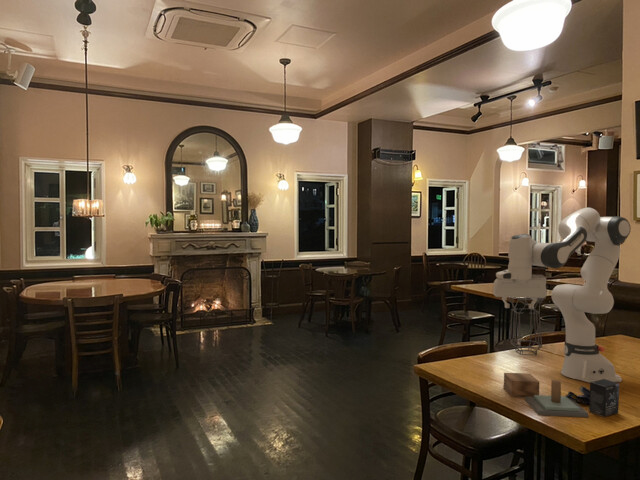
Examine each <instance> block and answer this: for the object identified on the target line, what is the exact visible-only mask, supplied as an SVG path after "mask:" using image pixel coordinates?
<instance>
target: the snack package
mask: <svg viewBox="0 0 640 480" xmlns="http://www.w3.org/2000/svg"><path fill="white" fill-rule="evenodd" d="M579 391H580V392H581V394H580V395H577V394H576V393H574V392H572V391H568V393H567V394H565V396H566V397H567V398H571V399H573V400H574V401H575V402H576V403H577V402H578V403H581V404H589V401H590V388H587V387H585V386H583V385H581V386H580V387H579Z"/></svg>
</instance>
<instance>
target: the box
mask: <svg viewBox="0 0 640 480" xmlns="http://www.w3.org/2000/svg"><path fill="white" fill-rule="evenodd" d="M589 390H590V401H589V405H588V406H589V410H588V411H589V412H591V413H592V414H595V415H598V416H601V417H604V418H605V417H609V416H612V415H615V414H619V408H620V407H619V405H620V403H619V402H620V401H619V400H620V398H619V397H620V395H619V394H620V383H619V382H612V381H609V380H606V379H602V380H597V381H593V382H589Z"/></svg>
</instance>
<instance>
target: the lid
mask: <svg viewBox="0 0 640 480" xmlns="http://www.w3.org/2000/svg"><path fill="white" fill-rule="evenodd" d="M550 388H551V389H550V395H544V394H542V395H541V394H539V395H534V398H535V399H536V400H537V401H538V402H539V403H540V404H541V405H542V407H543V408H544V409H545V410H566V411H579V407H577V406H576V405H575V404H574V403H573V402H572V401H570V400H569V399H568V398H567V397H566V395H564V396H563V395H562V382H561V381H560V380H554V379H553V380H551V387H550Z"/></svg>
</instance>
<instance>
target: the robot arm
mask: <svg viewBox="0 0 640 480" xmlns="http://www.w3.org/2000/svg"><path fill="white" fill-rule="evenodd" d="M557 228H558V230H557V231H558V234H559V236H560V237H561V238H562V239H563V240H562V241H560V242H538V241H537V240H535V239H533V238H532V237H531V235H530V234H526V233H523V234H515V235H513V236H511V237H510V239H509V243H508V250H507V251H508V255H507V257H508V261H509V262H508V265H507V269H504V270H502V271H497V272H495V277H496V279H495V280H494V281H493V287H492V294H493V296H494V297H496V298H501V300H502V301H503V303H504V308H505V309H510V306H511V305H510V302H509V303H508V302H507V300H508V297H516V298H517V297H518V298H519V297H520V298H524V297H526V298H527V297H528V298H527V299H530V298H532V302H531V301H530V303H528V304H529V305H528V309H529V308H530V309H529V310H531V309H534V307H535V305H536V304H537V302H536V301H537V298H545V297H546V298H547V285H546V284H547V277H546V276H545V275H543V274H533V273H532V271H533V270H532V268H533V266H537V267H545V268H551V269H553V270H554V269H558V270H559V269H560V268H562V267H563V266H565V264H566V263H567V261H568V260H569V258H570V257H571V256H572V255H573V254H574V253H575V252H576V251H577V250H578V249H579V248H580V247H581V246H582V245H583V244H584V243H585V242H586V243H591V242H594V247H593V249H592V250H591V252H589V254H588V256H587V258H586V260H585V261H584V263H583V265H582V267H581V268H580V276H581V278H582V279H583V280H584V281H585V283H584V284H583V285H579V284H572V283H565V284H562V283H561V284H558V285H556V286H554V288H553V289H552V291H551V301H552V302H553V304H554V305H555V306H556V307H557V308H558V309H559V311H560V312H561V315H562V317H563V320H564V324H565V341H564V345H563V346H564V347H563V351H564V352H563V353H564V359H563V364H562V368H561V371H560V374H562V375H563V376H564V377H567V378H571V379H573V380H579V381H582V382H586V383H590V382H593V381H597V380H602V379H606V380H609V381H612V382H615V383H622V381H623V380H622V377H621V376H620V375H619V374H617V373H616V369H615V366H614V364H613V363H612V361H610V360H609V359H608V358H606V357H605V356H604V355H603V354H601V353H604V352H605V350H606V349H605V347H603V346H601V345H600V346H599V345H598V344H597V343H596V326H595V323H593V322H591V321H590V320H589V319H588V317H587V316H586V313H589V314H592V315H593V314H594V315H595V314H597V315H598V314H599V315H600V314H602V315H604V314H607V313H610V311H611V310H612V309H613V307H614V304H615V300H614V297H613V294H612V292H610V290H609V289H608V285H609V284H608V283H609V280H610V278H611V277H612V273H613V272H614V270H615V268H616V266H617V263H618V261H619V259H620V255H621V247H620V246H621V245H623V244H624V243H625V242H626V240H627V238H628V237H629V235H630V233H631V229H632V228H631V225H630V222H629V220H628V219H627V218H626V217H623V216H616V215H615V216H600V213H599V212H598V211H597V210H596V209H594V208H592V207H583V208H580V209H578V210H576V211H574V212H572V213H570V214H569V215H568V216H565V217H564V218H563V219H562V220H561V221H560V222H559V224H558V227H557ZM546 298H545V299H546ZM600 352H601V353H600Z"/></svg>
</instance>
